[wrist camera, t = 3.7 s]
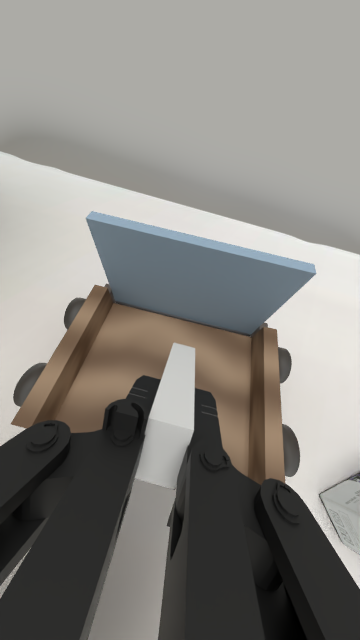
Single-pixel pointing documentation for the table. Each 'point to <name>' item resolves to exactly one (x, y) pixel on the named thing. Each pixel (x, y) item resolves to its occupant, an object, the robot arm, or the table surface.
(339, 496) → the ink box
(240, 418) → the trailer bed
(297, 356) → the table surface
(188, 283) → the panel
